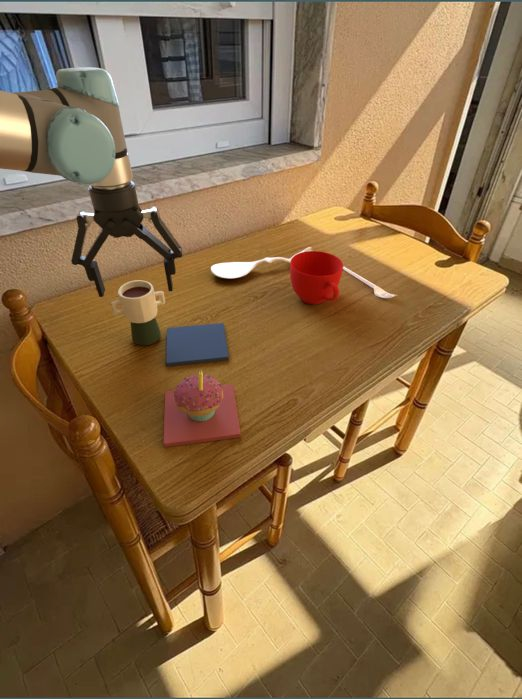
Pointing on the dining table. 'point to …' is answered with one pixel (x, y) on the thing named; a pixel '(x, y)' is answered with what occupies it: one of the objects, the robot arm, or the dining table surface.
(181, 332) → the blue mat
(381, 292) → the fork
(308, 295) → the ceramic cup
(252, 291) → the dining table surface
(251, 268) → the spoon
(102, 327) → the dining table surface
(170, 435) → the rose mat
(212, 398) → the cupcake
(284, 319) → the dining table surface
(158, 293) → the character mug
